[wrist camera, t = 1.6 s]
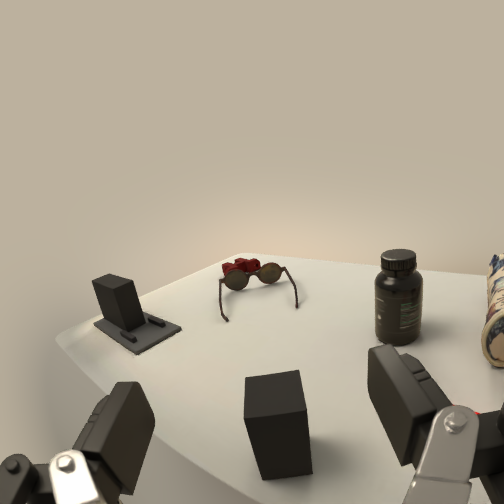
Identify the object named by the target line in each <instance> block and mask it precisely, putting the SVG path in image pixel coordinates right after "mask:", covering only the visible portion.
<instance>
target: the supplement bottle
mask: <svg viewBox="0 0 504 504" xmlns="http://www.w3.org/2000/svg"><path fill="white" fill-rule="evenodd" d="M416 267H417V263H416V253H415V252H413V251H411V250H406V249H393V250H388V251H386V252H383V253H382V255H381V270H382V271H381V272H380V273H379V274H378V275H377V277H376V279H375V333H376V336H377V337H378V339H379V340H380V341H382V342H384V343H386V344H389V343H390V344H392V345H404V344H408V343H410V342H412V341H414V340H415V339H416V338H417V337H418V336H419V334H420V329H421V317H422V300H423V278H422V276H421V274H420V273H419V272H418V271H416V270H415V269H416Z"/></svg>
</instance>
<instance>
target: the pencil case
mask: <svg viewBox="0 0 504 504" xmlns="http://www.w3.org/2000/svg"><path fill="white" fill-rule="evenodd" d="M487 285H488V290H487V295H488V312H487V315H486V323H485V327H484V329H483V332H482V338H481V344H482V350H483V353H484V356H485V357H486V359H487V360H488V361H489V362H490V363H491V364H492V365H494V366H497V367H504V253H503V254H501V255H499V256H498V257H497V255H494V256H493V258H492V260H491V263H490V269H489V271H488V274H487Z"/></svg>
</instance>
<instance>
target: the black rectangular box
mask: <svg viewBox="0 0 504 504" xmlns="http://www.w3.org/2000/svg"><path fill="white" fill-rule="evenodd" d="M244 422H245V425H246V428H247V432H248V435H249V439H250V442H251V445H252V448H253V452H254V455H255V458H256V461H257V465H258V468H259V471H260V474H261V477H262V480H271V479H280V478H288V477H295V476H302V475H308V474H313V471H312V459H311V448H310V437H309V427H308V417H307V408H306V403H305V398H304V393H303V388H302V383H301V377H300V372H299V370H294V371H288V372H282V373H275V374H268V375H261V376H253V377H246V378H245V398H244Z"/></svg>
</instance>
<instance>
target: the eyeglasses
mask: <svg viewBox="0 0 504 504" xmlns="http://www.w3.org/2000/svg"><path fill="white" fill-rule="evenodd" d="M283 271H285V272H286V274H287V276H288V277H289V279H290V281H291V282H292V284H293V286H294V289H295V297H296V305H295V307H296V308H298V297H297V289H296V285H295V283H294V281H293V279H292V278H291V276H290V274H289V272H288V271H287V269H286V267H280V266H279V265H278V264H276V263H267V264H264V265H263V266H262V267H261V268H260V270H259V271H258V272H251V273H248V274H246V273H245V272H243V271H241V270H238V269H234V270H231V271H229V272H228V273H227V274H226V275H225V277H224V279H219V303H220V310H221V316H222V317H223V318H224V319H225V320H226V321H229V320H228V318H227V317H226V316H225V315H224V314H223V310H222V302H221V283H225V285H226V286H227V287H228V288H229V289H231V290H235V291H236V290H242V289H243V288H245V287H246V286H247V284H248V282H249V278H250V276H252V275H256V276H257V277H258V278H259V280H260V281H261V282H263V283H265V284H272V283H274V282H276V281H278V280H279V278H280V277H281V274H282V272H283Z"/></svg>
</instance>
